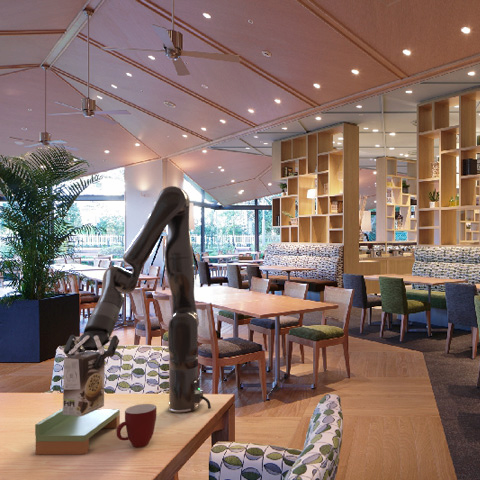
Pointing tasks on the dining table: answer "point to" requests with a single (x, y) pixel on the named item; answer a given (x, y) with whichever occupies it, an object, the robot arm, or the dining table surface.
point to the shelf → (72, 431)
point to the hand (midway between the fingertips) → (82, 368)
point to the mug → (138, 424)
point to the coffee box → (82, 384)
